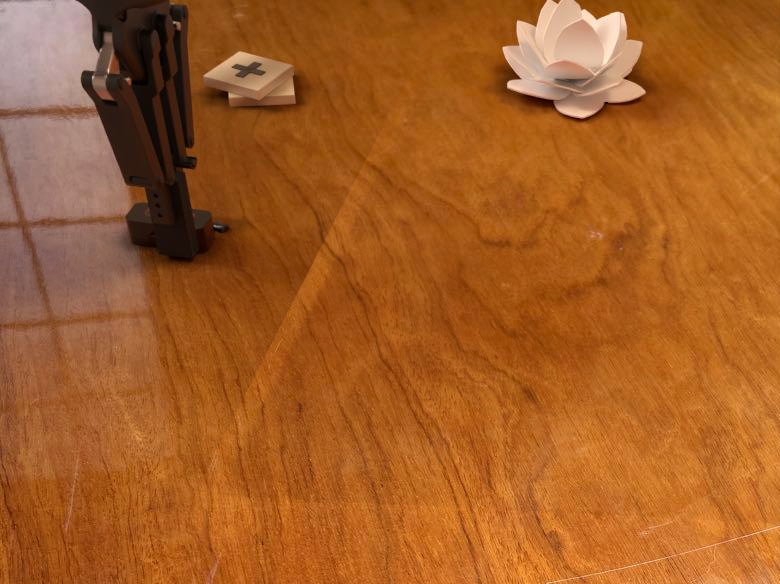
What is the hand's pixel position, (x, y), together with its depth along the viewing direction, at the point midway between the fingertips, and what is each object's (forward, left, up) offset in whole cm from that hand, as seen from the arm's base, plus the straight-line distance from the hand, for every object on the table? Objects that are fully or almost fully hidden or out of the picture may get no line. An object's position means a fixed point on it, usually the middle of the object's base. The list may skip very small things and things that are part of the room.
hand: (179, 251), depth 91 cm
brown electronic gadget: (-1, +3, -2) cm, 3 cm away
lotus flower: (+26, +39, -2) cm, 47 cm away
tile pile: (-3, +28, -2) cm, 28 cm away
